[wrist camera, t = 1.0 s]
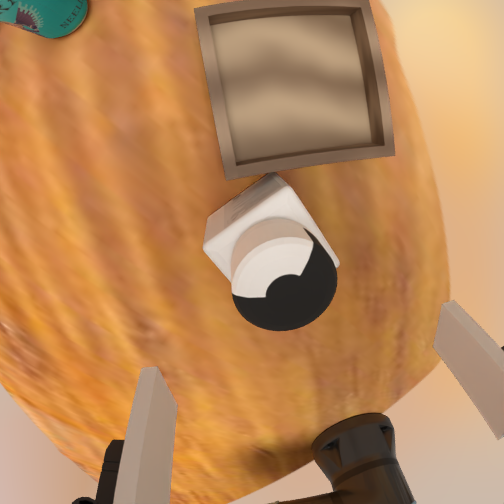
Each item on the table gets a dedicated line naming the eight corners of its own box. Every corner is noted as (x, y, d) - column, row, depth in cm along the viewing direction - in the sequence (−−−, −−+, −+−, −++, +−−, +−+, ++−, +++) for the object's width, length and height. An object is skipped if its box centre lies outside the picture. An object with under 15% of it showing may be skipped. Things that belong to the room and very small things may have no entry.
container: (316, 232, 31) (369, 301, 19) (253, 275, 32) (270, 363, 20) (273, 169, 28) (310, 203, 16) (205, 217, 29) (193, 284, 17)
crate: (378, 151, 28) (395, 155, 25) (226, 173, 28) (226, 180, 25) (353, 9, 22) (368, -1, 19) (197, 21, 22) (193, 8, 19)
